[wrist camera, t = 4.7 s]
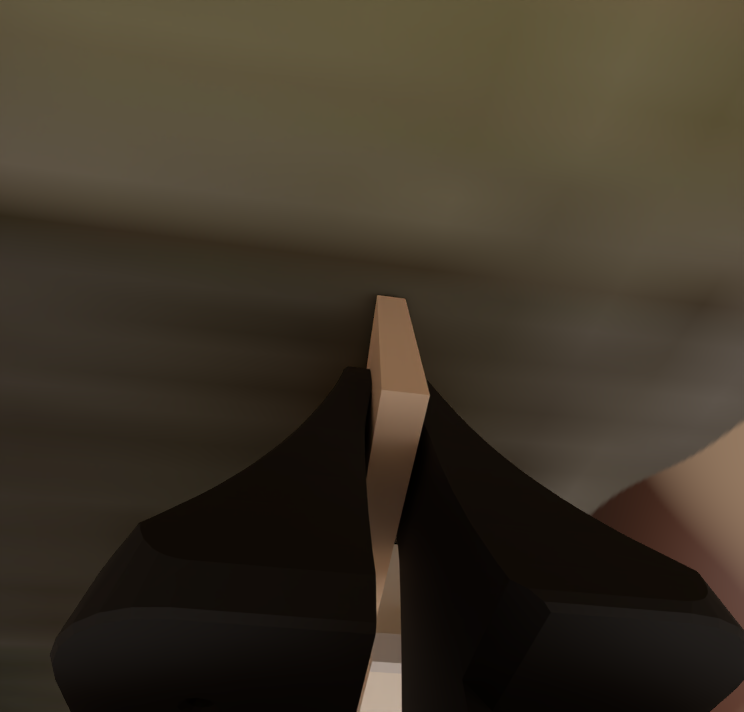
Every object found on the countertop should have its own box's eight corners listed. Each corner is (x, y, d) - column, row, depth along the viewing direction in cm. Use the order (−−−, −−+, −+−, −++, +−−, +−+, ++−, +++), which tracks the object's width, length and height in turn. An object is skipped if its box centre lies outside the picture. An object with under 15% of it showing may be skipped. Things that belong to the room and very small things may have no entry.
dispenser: (463, 664, 20) (486, 789, 16) (194, 646, 19) (148, 773, 15) (518, 545, 16) (569, 674, 12) (176, 514, 15) (104, 643, 11)
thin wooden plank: (351, 597, 17) (344, 752, 12) (333, 595, 17) (320, 750, 12) (405, 298, 11) (429, 395, 6) (377, 295, 11) (381, 389, 6)
